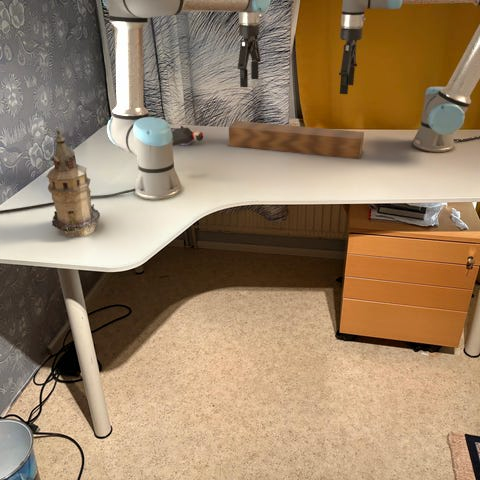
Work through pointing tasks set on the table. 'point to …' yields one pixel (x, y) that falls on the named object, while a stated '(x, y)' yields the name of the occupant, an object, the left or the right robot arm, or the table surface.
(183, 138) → the toy
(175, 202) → the table surface
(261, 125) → the wide beam
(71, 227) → the miniature building
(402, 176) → the table surface
